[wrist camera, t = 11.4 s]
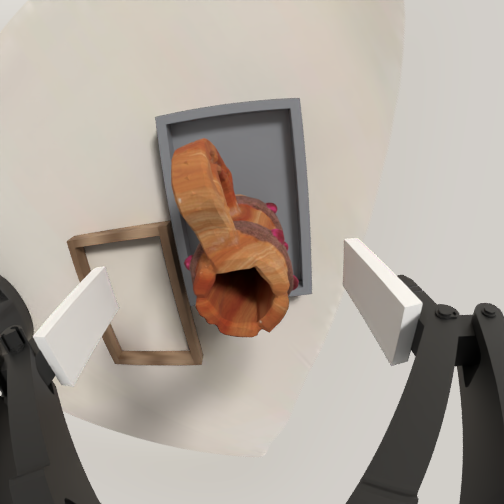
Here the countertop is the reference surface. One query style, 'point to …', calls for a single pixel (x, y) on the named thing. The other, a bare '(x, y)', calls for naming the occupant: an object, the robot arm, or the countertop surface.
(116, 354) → the wooden picture frame
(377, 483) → the robot arm
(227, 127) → the tray
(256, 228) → the mug
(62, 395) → the countertop surface
